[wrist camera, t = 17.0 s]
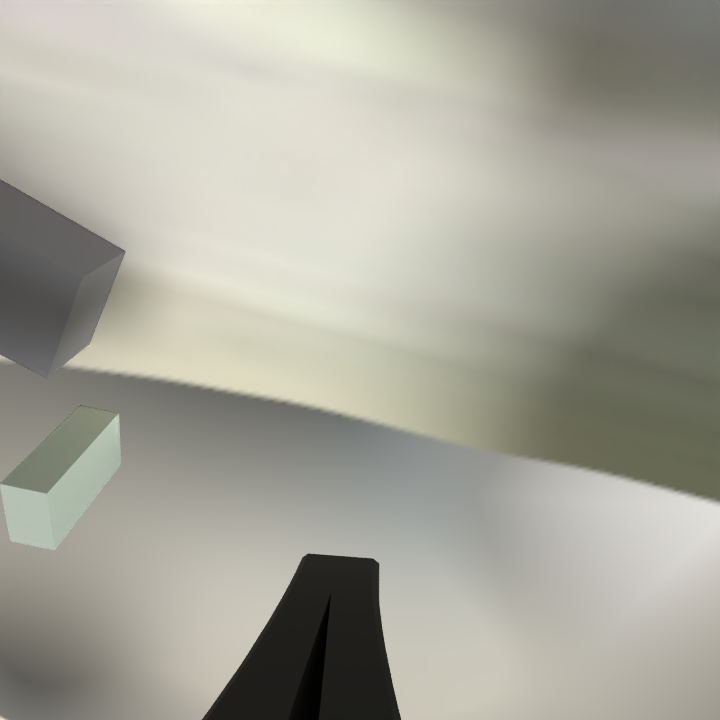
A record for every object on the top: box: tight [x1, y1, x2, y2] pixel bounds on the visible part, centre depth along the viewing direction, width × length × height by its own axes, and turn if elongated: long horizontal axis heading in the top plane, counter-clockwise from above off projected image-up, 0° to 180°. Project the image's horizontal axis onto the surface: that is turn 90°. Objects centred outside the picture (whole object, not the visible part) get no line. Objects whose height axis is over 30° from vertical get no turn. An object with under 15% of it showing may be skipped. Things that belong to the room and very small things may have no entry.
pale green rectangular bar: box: [0, 405, 121, 550], centre depth 15 cm, size 2×22×4 cm, turn 170°
